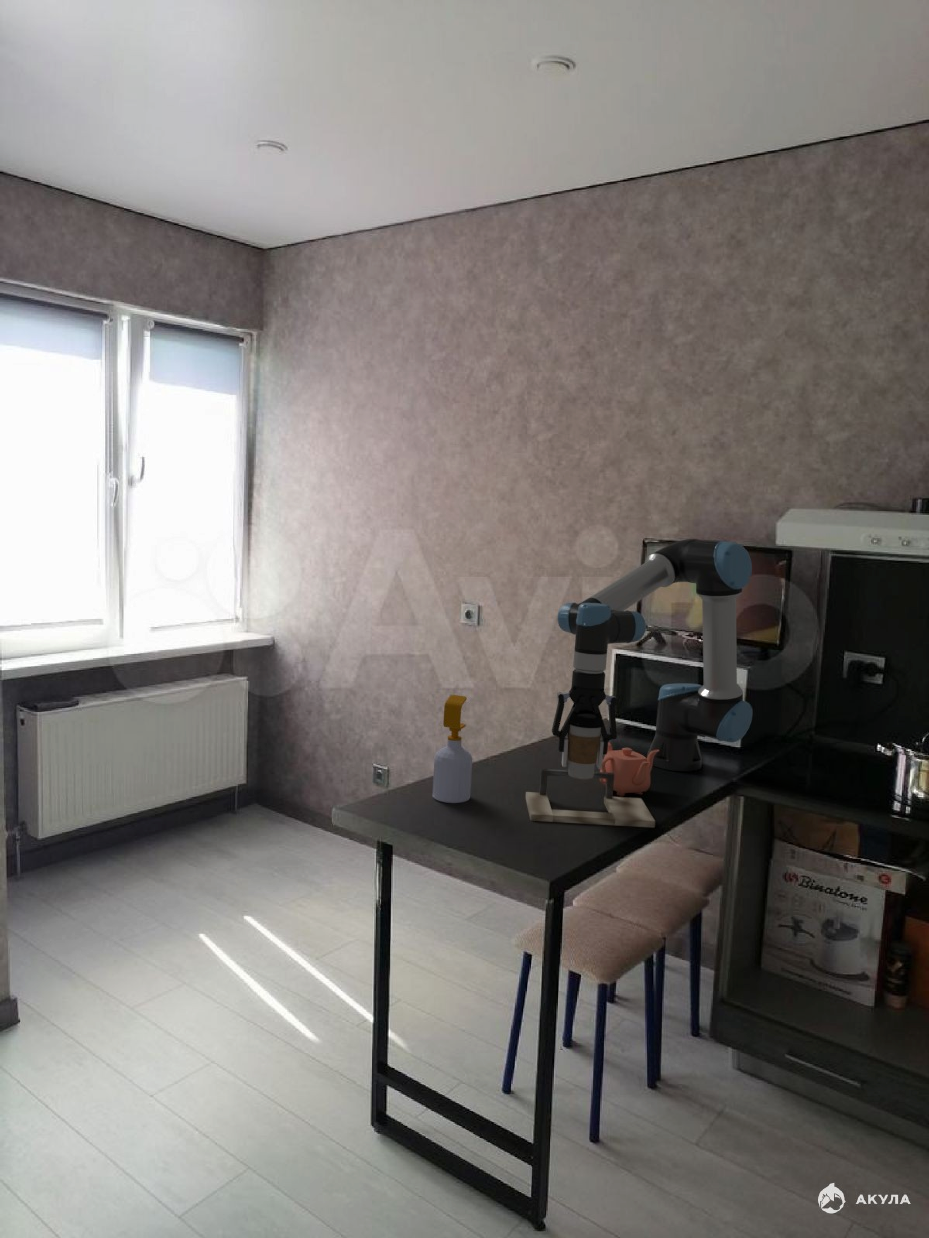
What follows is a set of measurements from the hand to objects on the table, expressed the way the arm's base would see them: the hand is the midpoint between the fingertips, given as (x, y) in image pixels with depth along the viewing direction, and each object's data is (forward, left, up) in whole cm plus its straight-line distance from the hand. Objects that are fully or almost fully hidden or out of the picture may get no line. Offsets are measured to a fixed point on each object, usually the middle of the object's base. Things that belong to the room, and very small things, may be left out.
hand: (581, 766), depth 213 cm
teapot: (-15, -18, -11) cm, 26 cm away
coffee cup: (0, 0, -2) cm, 2 cm away
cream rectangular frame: (-2, +1, -10) cm, 11 cm away
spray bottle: (+30, -4, -11) cm, 32 cm away
